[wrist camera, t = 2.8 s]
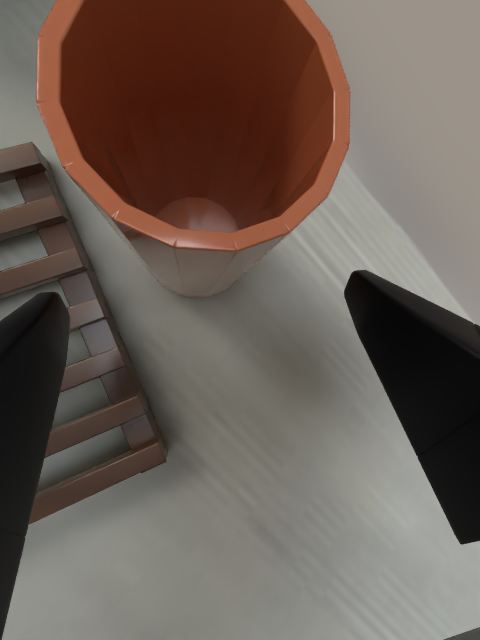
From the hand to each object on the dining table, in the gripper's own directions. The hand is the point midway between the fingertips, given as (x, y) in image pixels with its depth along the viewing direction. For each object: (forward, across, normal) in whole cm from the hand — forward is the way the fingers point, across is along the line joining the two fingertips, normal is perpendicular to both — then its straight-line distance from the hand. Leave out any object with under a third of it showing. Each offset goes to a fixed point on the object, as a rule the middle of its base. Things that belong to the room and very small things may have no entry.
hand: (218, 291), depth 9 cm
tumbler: (+10, 0, +5) cm, 11 cm away
